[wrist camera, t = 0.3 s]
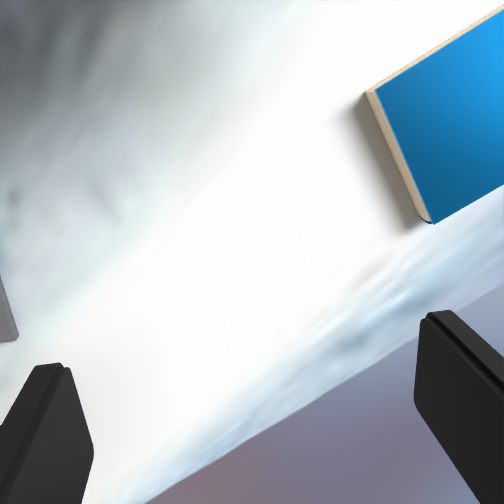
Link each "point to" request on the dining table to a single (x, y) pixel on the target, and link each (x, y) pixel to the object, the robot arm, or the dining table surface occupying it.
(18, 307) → the dining table surface
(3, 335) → the mat
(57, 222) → the dining table surface
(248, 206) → the dining table surface
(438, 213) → the book
